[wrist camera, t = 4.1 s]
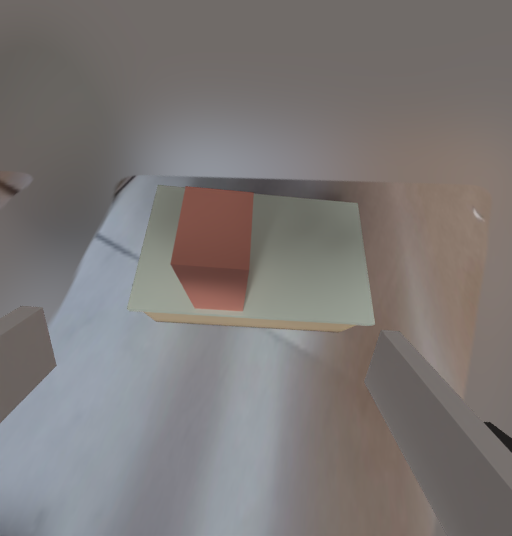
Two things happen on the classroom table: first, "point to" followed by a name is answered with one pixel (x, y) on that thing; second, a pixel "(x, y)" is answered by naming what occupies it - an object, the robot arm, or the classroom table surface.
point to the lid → (253, 258)
